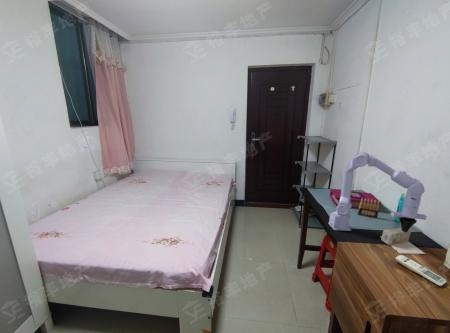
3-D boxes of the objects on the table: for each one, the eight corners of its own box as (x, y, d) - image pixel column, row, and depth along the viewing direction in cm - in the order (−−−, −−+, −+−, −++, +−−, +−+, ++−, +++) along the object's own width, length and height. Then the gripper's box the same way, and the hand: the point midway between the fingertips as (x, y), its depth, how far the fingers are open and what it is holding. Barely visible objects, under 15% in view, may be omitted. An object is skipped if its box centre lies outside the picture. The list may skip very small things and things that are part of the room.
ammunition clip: (357, 214, 140) (361, 197, 137) (357, 213, 142) (360, 196, 139) (377, 218, 136) (381, 200, 133) (376, 217, 138) (380, 199, 135)
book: (329, 196, 172) (330, 187, 170) (368, 201, 165) (370, 191, 163) (334, 206, 153) (336, 196, 151) (380, 212, 146) (382, 202, 144)
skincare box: (391, 234, 105) (411, 231, 108) (383, 229, 109) (402, 227, 112) (388, 245, 107) (408, 242, 109) (380, 240, 111) (399, 237, 113)
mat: (400, 253, 101) (400, 252, 101) (380, 237, 115) (380, 236, 115) (425, 254, 101) (425, 253, 101) (401, 237, 115) (402, 236, 114)
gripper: (421, 203, 106) (414, 228, 109) (389, 201, 107) (383, 225, 111) (432, 209, 99) (425, 235, 102) (398, 206, 101) (392, 233, 104)
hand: (404, 231), depth 106 cm, fingers closed
